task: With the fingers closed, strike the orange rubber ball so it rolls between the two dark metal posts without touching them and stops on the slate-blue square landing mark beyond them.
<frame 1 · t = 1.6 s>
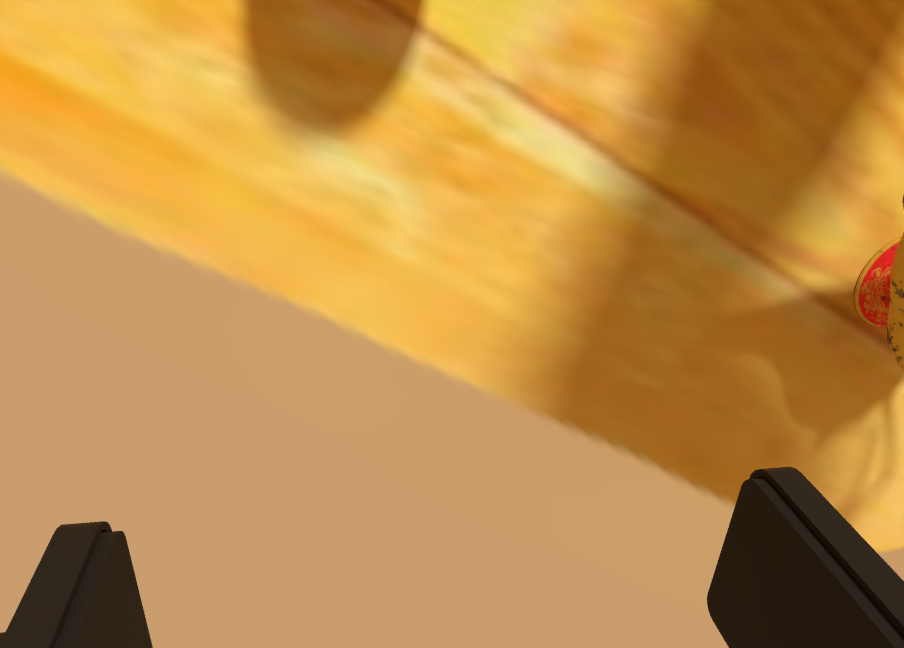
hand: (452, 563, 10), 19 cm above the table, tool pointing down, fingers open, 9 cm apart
magic lamp: (884, 259, 32), on the table
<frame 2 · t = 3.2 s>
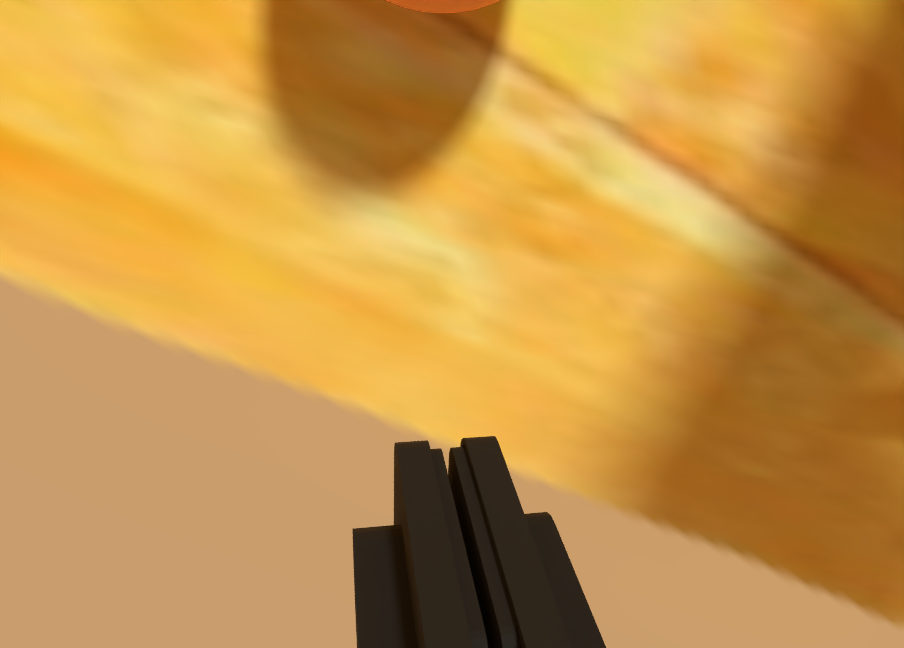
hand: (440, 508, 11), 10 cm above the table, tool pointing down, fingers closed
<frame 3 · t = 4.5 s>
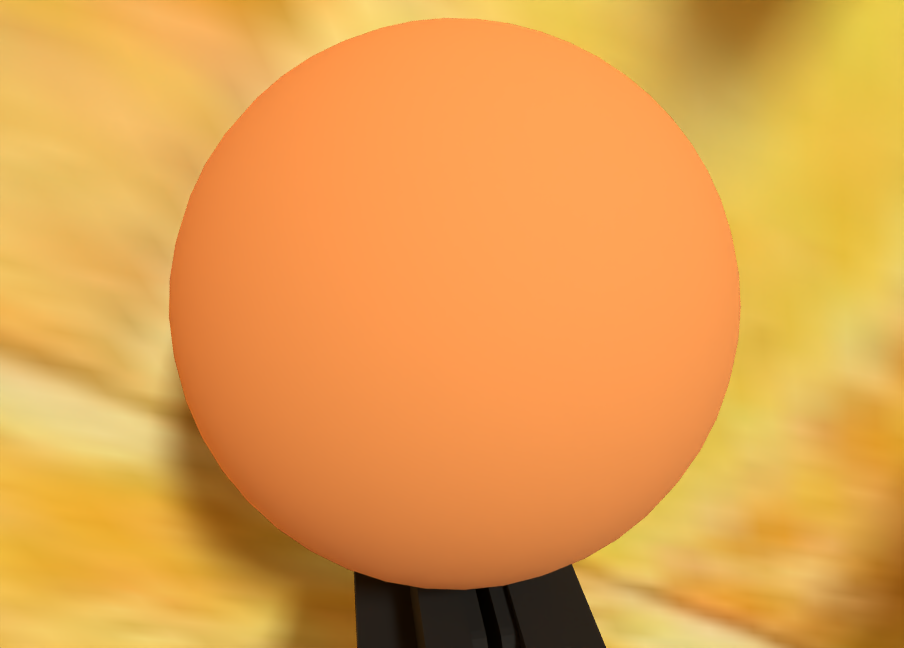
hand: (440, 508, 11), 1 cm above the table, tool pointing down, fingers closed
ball: (454, 307, 8), on the table
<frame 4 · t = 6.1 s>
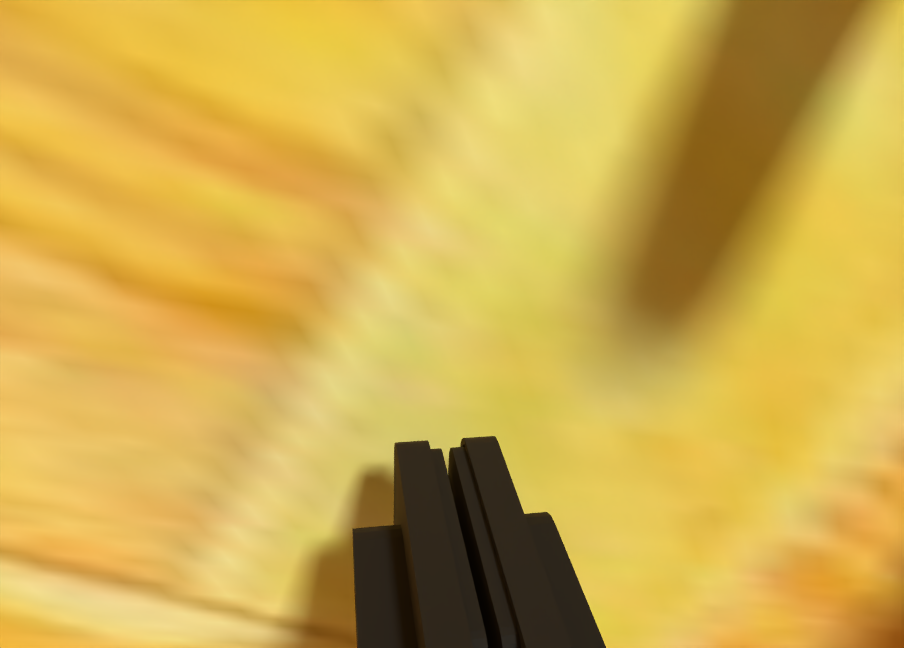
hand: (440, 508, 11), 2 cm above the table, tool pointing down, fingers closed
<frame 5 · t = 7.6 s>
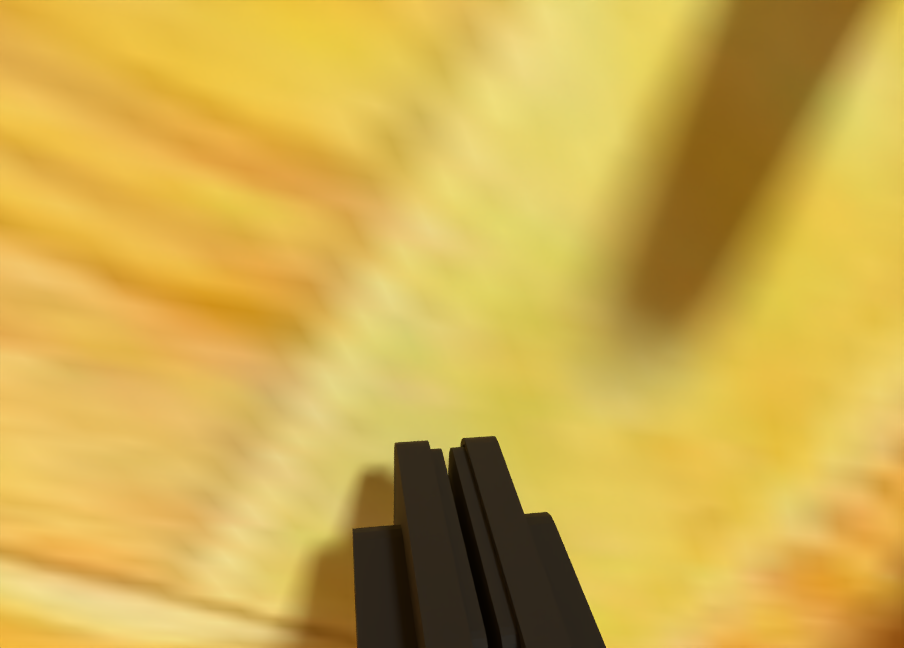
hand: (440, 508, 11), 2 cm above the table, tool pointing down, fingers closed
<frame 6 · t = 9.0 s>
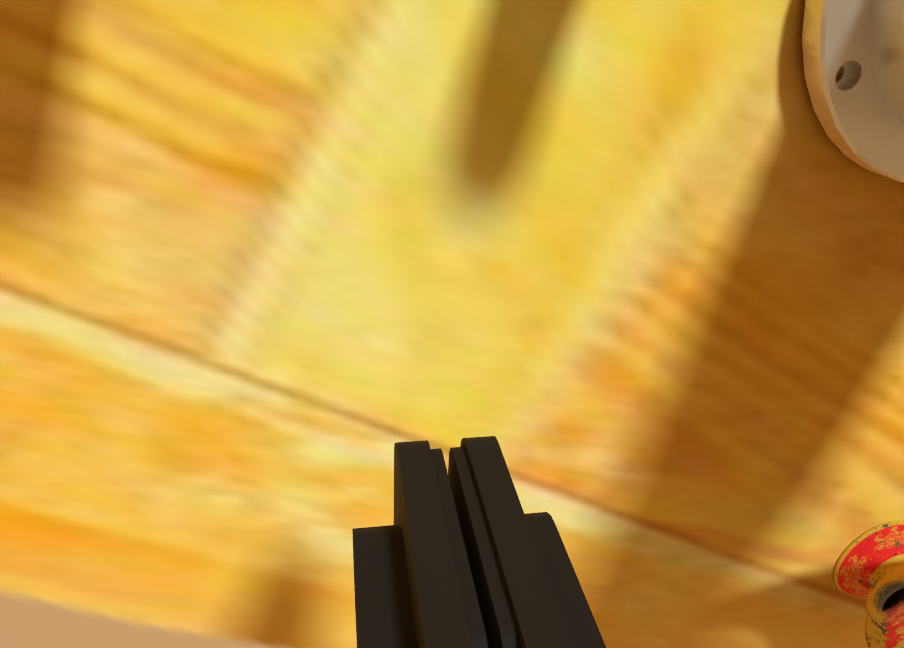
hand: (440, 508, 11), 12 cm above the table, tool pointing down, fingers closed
magic lamp: (860, 543, 34), on the table
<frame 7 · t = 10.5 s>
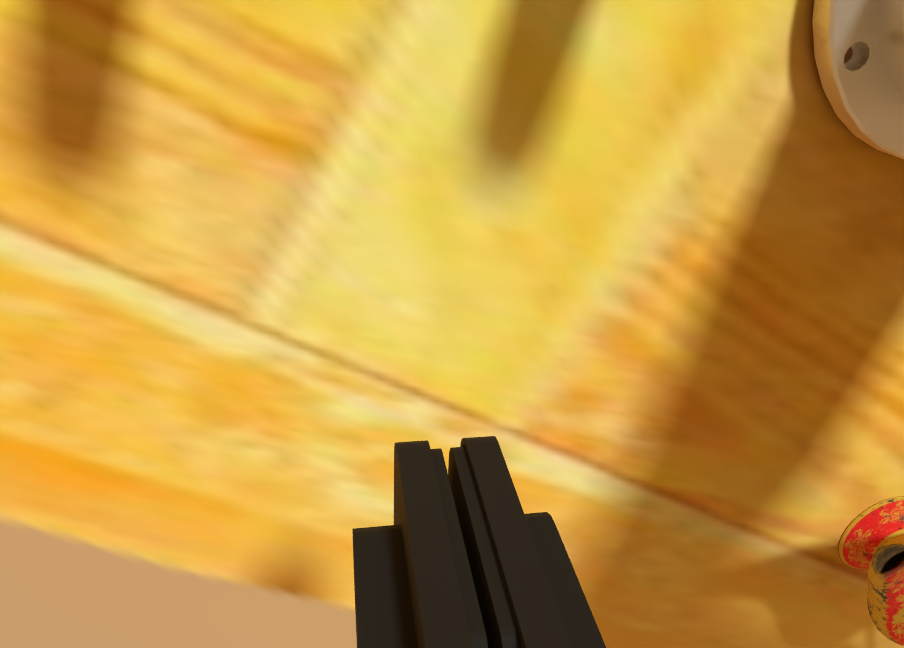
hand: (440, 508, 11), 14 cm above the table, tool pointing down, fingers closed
magic lamp: (866, 517, 35), on the table
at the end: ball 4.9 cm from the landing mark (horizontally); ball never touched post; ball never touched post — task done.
